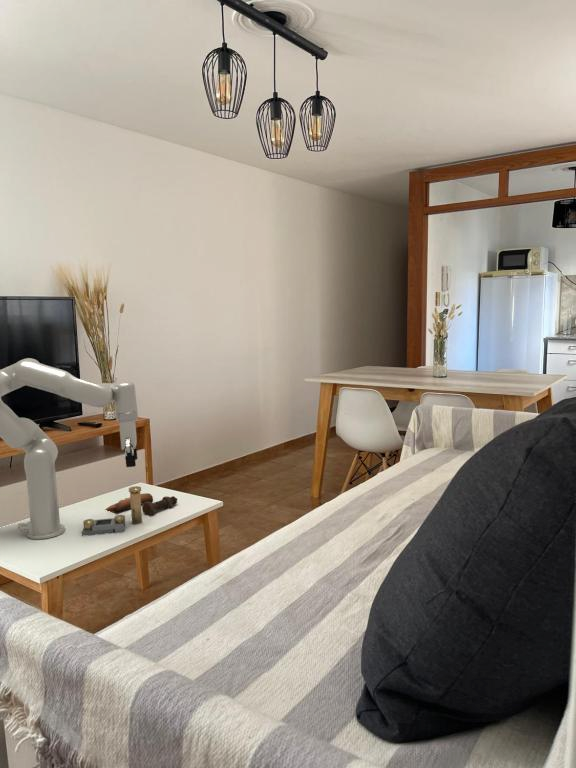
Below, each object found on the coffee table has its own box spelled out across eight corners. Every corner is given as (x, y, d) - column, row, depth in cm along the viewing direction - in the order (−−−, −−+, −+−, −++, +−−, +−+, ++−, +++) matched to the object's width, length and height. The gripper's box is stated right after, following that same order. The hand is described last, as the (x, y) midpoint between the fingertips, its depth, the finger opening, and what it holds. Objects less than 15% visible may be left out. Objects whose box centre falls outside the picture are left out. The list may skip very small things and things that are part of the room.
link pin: (130, 525, 212) (128, 490, 210) (131, 521, 216) (129, 486, 214) (142, 524, 213) (140, 489, 211) (143, 520, 217) (141, 485, 215)
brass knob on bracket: (82, 536, 203) (81, 523, 202) (84, 528, 209) (84, 516, 209) (124, 531, 205) (123, 519, 205) (126, 524, 212) (125, 513, 212)
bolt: (176, 509, 234) (148, 519, 221) (168, 501, 236) (140, 511, 223) (181, 498, 232) (153, 507, 219) (173, 490, 234) (145, 499, 221)
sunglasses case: (140, 497, 243) (144, 485, 240) (150, 508, 240) (154, 496, 237) (103, 510, 229) (107, 497, 226) (113, 522, 226) (117, 509, 223)
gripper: (118, 413, 217) (123, 458, 219) (113, 422, 200) (119, 470, 202) (139, 411, 218) (144, 456, 220) (136, 419, 201) (141, 468, 203)
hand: (132, 463), depth 211 cm, fingers open, 9 cm apart
